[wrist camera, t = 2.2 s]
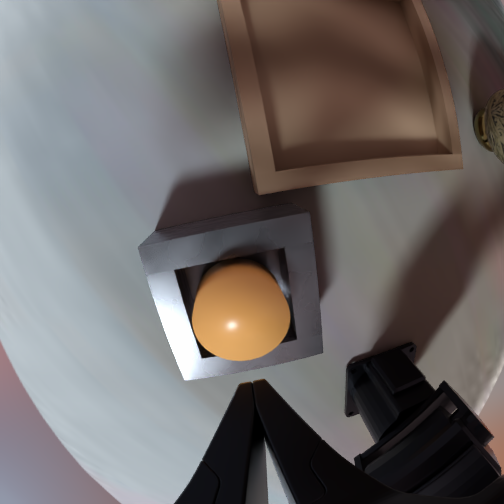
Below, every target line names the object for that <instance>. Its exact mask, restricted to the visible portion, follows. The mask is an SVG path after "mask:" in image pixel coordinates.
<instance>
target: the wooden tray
mask: <svg viewBox="0 0 504 504" xmlns="http://www.w3.org/2000/svg"><path fill="white" fill-rule="evenodd" d="M217 3H218V8H219V13H220V17H221V22H222V27H223V32H224V37H225V42H226V47H227V52H228V57H229V62H230V67H231V72H232V77H233V82H234V87H235V92H236V98H237V103H238V108H239V113H240V118H241V124H242V129H243V134H244V140H245V145H246V150H247V156H248V161H249V167H250V172H251V178H252V183H253V189H254V192H255V193H256V194H258V195H263V194H269V193H274V192H280V191H286V190H292V189H298V188H304V187H310V186H316V185H323V184H330V183H336V182H343V181H351V180H358V179H366V178H374V177H382V176H391V175H400V174H409V173H419V172H430V171H442V170H455V169H463V162H462V152H461V143H460V136H459V129H458V123H457V117H456V112H455V106H454V102H453V97H452V92H451V88H450V84H449V80H448V76H447V72H446V69H445V65H444V62H443V58H442V55H441V52H440V49H439V46H438V43H437V40H436V37H435V34H434V32H433V29H432V26H431V24H430V21H429V19H428V16H427V14H426V11H425V9H424V7H423V5H422V2H421V0H217Z"/></svg>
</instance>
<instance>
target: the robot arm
mask: <svg viewBox="0 0 504 504" xmlns="http://www.w3.org/2000/svg"><path fill="white" fill-rule="evenodd" d="M415 353H416V345H415V344H414V343H413V342H410V343H408V344H405V345H403V346H400V347H398V348H395V349H393V350H390V351H387V352H385V353H382V354H379V355H376V356H373V357H371V358H368V359H365V360H362V361H359V362H356V363H353V364H350V365H349V366H348V367H347V369H346V391H345V415H346V416H347V417H351V416H354V415H357V414H360V415H361V417H362V419H363V421H364V423H365V425H366V427H367V428H368V430H369V432H370V434H371V436H372V438H373V440H374V442H375V443H376V444H374V445H373V446H372V447H370V448H369V449H368V450H366V451H365V452H363V453H362V454H359V455H357V456H356V457H355V458H354V461H355V466H354V465H353V464H352V463H350V462H349V461H347V460H346V459H345V458H343V457H342V456H341V455H340V454H338V453H337V452H336V451H335V450H334V449H333V448H332V447H331V446H329V445H328V444H327V443H326V442H325V441H324V440H322V438H321V437H320V436H319V435H318V434H317V433H316V432H315V431H314V430H313V429H312V428H311V427H310V426H309V425H308V424H307V423H306V422H305V421H304V420H303V419H302V418H301V417H300V416H299V415H298V414H297V413H296V412H295V411H294V410H293V409H292V408H291V406H290V405H289V404H288V403H287V402H286V401H285V400H284V399H283V398H282V397H281V396H280V395H279V394H278V393H277V392H276V390H275V389H274V388H273V387H272V386H271V385H270V384H269V383H268V382H267V381H266V380H265V379H260V380H255V381H253V382H245V383H240V384H239V385H238V387H237V389H236V391H235V393H234V395H233V398H232V400H231V402H230V404H229V406H228V408H227V410H226V412H225V414H224V416H223V418H222V420H221V422H220V425H219V427H218V429H217V431H216V433H215V435H214V437H213V439H212V441H211V443H210V445H209V447H208V449H207V451H206V453H205V455H204V457H203V458H202V461H201V462H200V464H199V466H198V468H197V470H196V472H195V473H194V475H193V477H192V479H191V480H190V482H189V484H188V485H187V486H186V488H185V489H184V491H183V492H182V494H181V495H180V496H179V498H178V499H177V500H176V502H175V503H174V504H268V488H267V468H266V449H265V441H266V445H267V448H268V450H269V453H270V456H271V458H272V461H273V464H274V466H275V469H276V472H277V474H278V477H279V479H280V482H281V484H282V487H283V489H284V492H285V494H286V497H287V499H288V502H289V504H504V475H501V467H500V465H499V463H498V461H497V458H496V456H495V454H494V452H493V450H492V449H491V448H490V447H489V445H488V443H489V442H490V441H491V440H492V439H493V438H494V436H493V434H491V432H490V431H489V429H488V428H487V427H486V426H485V424H484V423H483V422H482V420H481V419H480V418H479V417H478V415H477V414H476V413H475V412H474V411H473V409H472V408H471V407H470V406H469V405H468V404H467V403H466V402H465V401H464V399H463V398H462V397H461V396H460V395H459V394H458V393H457V392H456V391H455V390H454V389H453V388H452V387H451V386H450V385H449V384H448V383H447V382H446V381H445V380H444V381H443V382H442V383H441V384H440V385H439V388H438V389H437V390H436V391H435V389H434V388H433V387H432V386H431V385H430V384H429V382H428V381H427V380H426V379H425V378H426V377H425V375H424V374H423V373H422V372H421V371H420V370H419V369H418V368H417V366H416V365H415V364H414V358H415ZM353 369H354V370H353ZM456 408H457V410H456V411H455V412H454V413H453V414H451V413H452V412H453V411H454V410H455V409H456ZM264 438H265V439H264Z"/></svg>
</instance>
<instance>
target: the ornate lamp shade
mask: <svg viewBox="0 0 504 504" xmlns="http://www.w3.org/2000/svg"><path fill="white" fill-rule="evenodd" d="M474 128H475V133H476V136H477V139H478V141H479V143H480V144H481V145H482V146H483V147H484V148H485V149H487V150H488V151H491V152H494V153H495V155H496V156H497V158H498V159H499V160H500V161H501V162H502V163H503V164H504V88H503V89H501V90H499V91H497V92H496V93H494V94H493V95H492V96H491V98H490V99H489V101H488V103H487V105H486V108H483V109H481V110H480V111H478V112H477V114H476V116H475V119H474Z"/></svg>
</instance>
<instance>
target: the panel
mask: <svg viewBox="0 0 504 504" xmlns="http://www.w3.org/2000/svg"><path fill="white" fill-rule="evenodd" d="M138 249H139V253H140V256H141V260H142V263H143V267H144V270H145V273H146V276H147V280H148V283H149V286H150V289H151V292H152V295H153V298H154V301H155V304H156V307H157V310H158V313H159V316H160V319H161V321H162V324H163V327H164V330H165V332H166V335H167V338H168V340H169V343H170V345H171V348H172V351H173V353H174V356H175V358H176V360H177V363H178V365H179V368H180V370H181V373H182V375H183V377H184V380H193V379H200V378H207V377H214V376H220V375H226V374H232V373H237V372H243V371H248V370H253V369H258V368H263V367H268V366H272V365H277V364H281V363H286V362H290V361H294V360H298V359H302V358H306V357H310V356H314V355H317V354H321V353H323V341H322V326H321V313H320V300H319V289H318V279H317V269H316V260H315V251H314V242H313V234H312V226H311V218H310V212H308V211H306V210H304V209H303V208H301V207H299V206H297V205H295V204H293V203H289V204H283V205H277V206H272V207H267V208H261V209H256V210H251V211H246V212H241V213H236V214H231V215H226V216H221V217H216V218H211V219H206V220H202V221H197V222H192V223H188V224H183V225H179V226H174V227H170V228H165V229H161V230H157V231H154V232H153V233H152V234H151V235H150V236H149V237H148V238H147V239H146V240H145V241H144V242H143V243H142V244H141V245H140V246H139V247H138ZM235 258H243V259H249V260H253V261H256V262H258V263H260V264H262V265H263V266H265V267H266V268H267V269H268V270H269V271H270V272H271V273H272V274H273V275H274V277H275V279H276V280H277V282H278V284H279V287H280V289H281V291H282V293H283V295H284V297H285V299H286V301H287V303H288V306H289V310H290V324H289V328H288V331H287V333H286V335H285V337H284V339H283V340H282V341H281V343H280V344H279V345H278V346H277V347H276V348H275V349H273V350H272V351H271V352H269V353H267V354H266V355H264V356H261V357H259V358H256V359H252V360H246V361H233V360H227V359H224V358H220V357H218V356H216V355H214V354H212V353H211V352H209V351H208V350H207V349H205V348H204V347H203V346H202V345H201V343H200V342H199V341H198V339H197V337H196V335H195V333H194V330H193V325H192V315H193V309H194V303H195V297H196V292H197V287H198V284H199V282H200V280H201V278H202V277H203V275H204V274H205V273H206V272H207V271H208V270H209V269H210V268H211V267H213V266H214V265H216V264H218V263H220V262H222V261H225V260H228V259H235Z"/></svg>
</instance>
